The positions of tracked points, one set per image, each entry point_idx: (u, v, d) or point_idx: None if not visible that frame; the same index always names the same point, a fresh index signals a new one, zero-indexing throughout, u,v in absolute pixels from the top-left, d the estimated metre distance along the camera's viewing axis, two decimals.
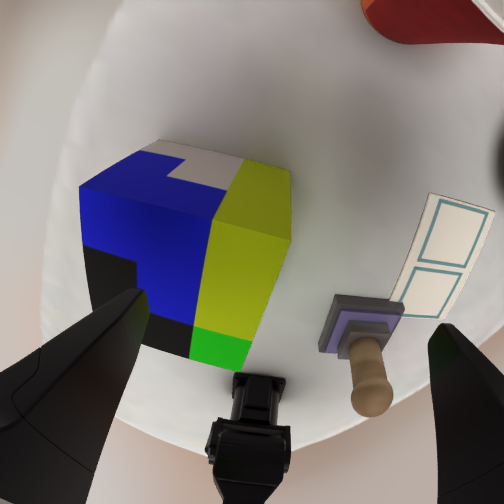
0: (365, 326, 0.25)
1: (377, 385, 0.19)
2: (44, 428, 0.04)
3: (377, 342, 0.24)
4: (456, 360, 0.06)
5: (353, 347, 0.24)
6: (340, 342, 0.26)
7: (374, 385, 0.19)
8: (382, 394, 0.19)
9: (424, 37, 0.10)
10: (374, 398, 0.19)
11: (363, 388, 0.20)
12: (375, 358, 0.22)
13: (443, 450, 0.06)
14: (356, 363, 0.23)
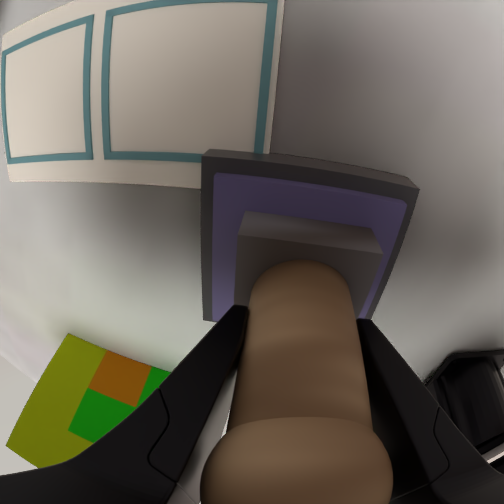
0: None
1: None
2: (186, 483, 0.04)
3: (262, 281, 0.08)
4: (365, 361, 0.06)
5: None
6: None
7: None
8: None
9: None
10: None
11: None
12: None
13: None
14: None
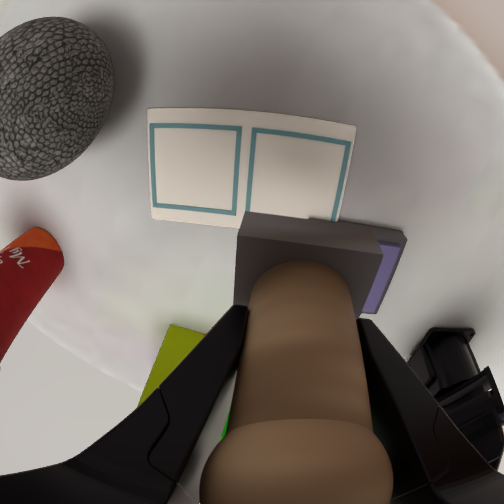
0: None
1: None
2: (186, 483, 0.04)
3: (262, 282, 0.08)
4: (365, 361, 0.06)
5: None
6: None
7: None
8: None
9: (35, 289, 0.20)
10: None
11: None
12: None
13: None
14: None
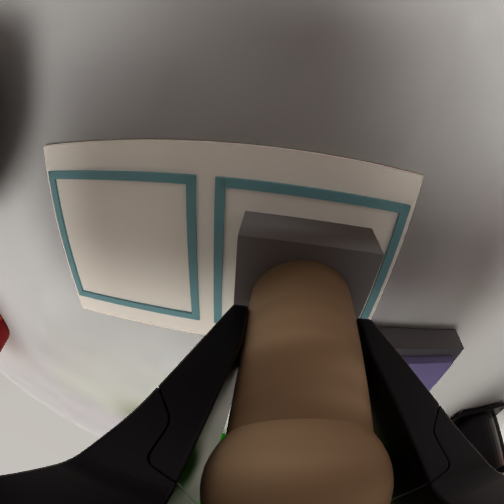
0: None
1: None
2: (186, 483, 0.04)
3: (262, 282, 0.08)
4: (365, 361, 0.06)
5: None
6: None
7: None
8: None
9: None
10: None
11: None
12: None
13: None
14: None
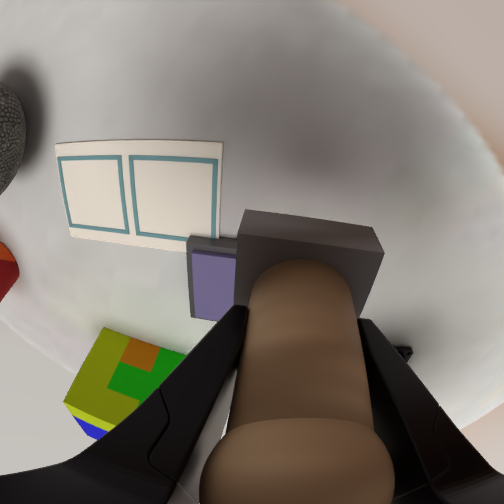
0: None
1: None
2: (187, 483, 0.04)
3: (262, 280, 0.08)
4: (365, 361, 0.06)
5: None
6: None
7: None
8: None
9: None
10: None
11: None
12: None
13: None
14: None
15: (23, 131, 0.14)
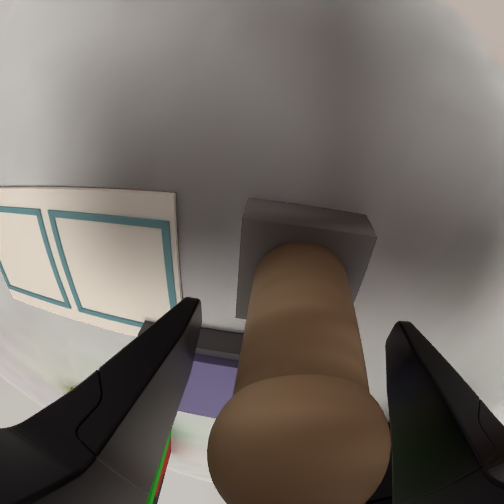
0: None
1: None
2: (115, 461, 0.04)
3: (265, 262, 0.09)
4: (410, 362, 0.06)
5: None
6: None
7: None
8: None
9: None
10: None
11: None
12: (244, 330, 0.07)
13: (399, 459, 0.06)
14: None
15: None
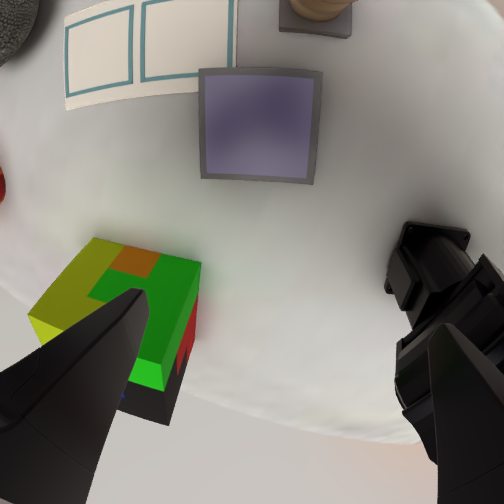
0: None
1: None
2: (45, 428, 0.04)
3: None
4: (456, 360, 0.06)
5: (305, 16, 0.11)
6: (327, 35, 0.13)
7: None
8: None
9: None
10: None
11: None
12: None
13: (444, 450, 0.06)
14: (308, 8, 0.10)
15: (37, 2, 0.10)
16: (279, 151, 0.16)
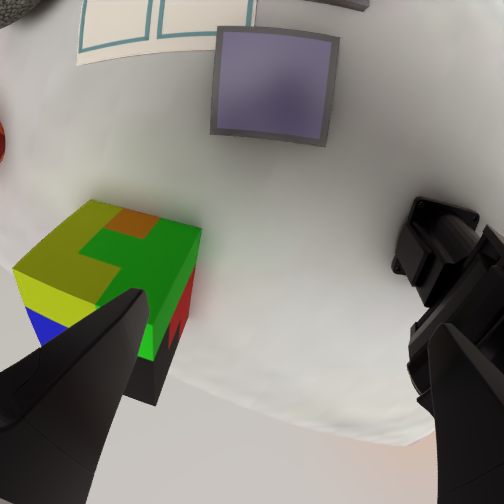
0: None
1: None
2: (45, 428, 0.04)
3: None
4: (456, 360, 0.06)
5: None
6: (345, 6, 0.12)
7: None
8: None
9: None
10: None
11: None
12: None
13: (444, 450, 0.06)
14: None
15: None
16: (293, 109, 0.15)
